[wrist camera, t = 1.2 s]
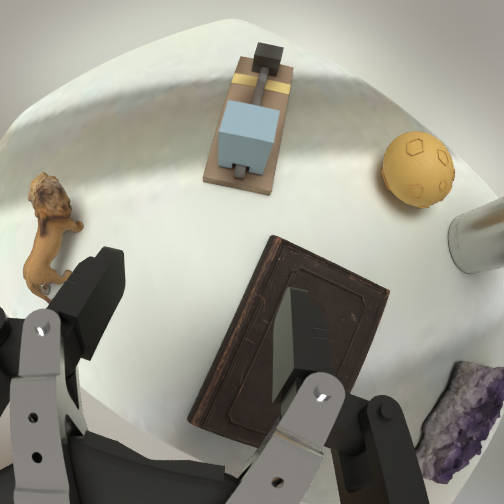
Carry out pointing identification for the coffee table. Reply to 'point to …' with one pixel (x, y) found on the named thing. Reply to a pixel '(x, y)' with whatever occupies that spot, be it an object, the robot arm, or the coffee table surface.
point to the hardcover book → (261, 338)
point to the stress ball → (418, 169)
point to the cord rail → (261, 94)
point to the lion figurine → (48, 233)
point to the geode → (460, 421)
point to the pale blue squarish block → (246, 135)
